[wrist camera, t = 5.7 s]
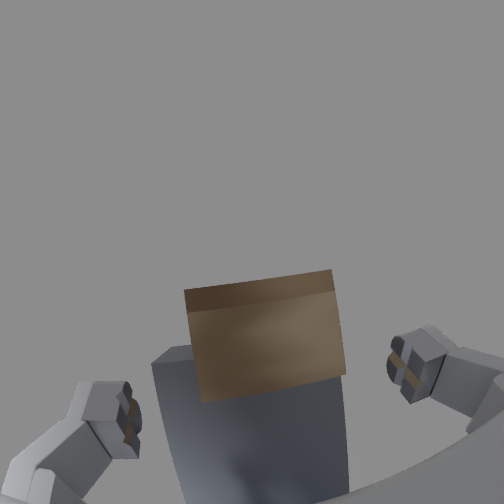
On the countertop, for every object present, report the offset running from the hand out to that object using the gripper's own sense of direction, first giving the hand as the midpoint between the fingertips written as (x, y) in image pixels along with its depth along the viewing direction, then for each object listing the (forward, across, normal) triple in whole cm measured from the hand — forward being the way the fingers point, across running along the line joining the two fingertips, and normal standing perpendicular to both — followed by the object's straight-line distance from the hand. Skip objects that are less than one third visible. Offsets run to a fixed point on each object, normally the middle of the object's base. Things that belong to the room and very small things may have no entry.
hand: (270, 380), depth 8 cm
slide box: (+8, 0, +5) cm, 9 cm away
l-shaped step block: (-11, 0, +26) cm, 28 cm away
